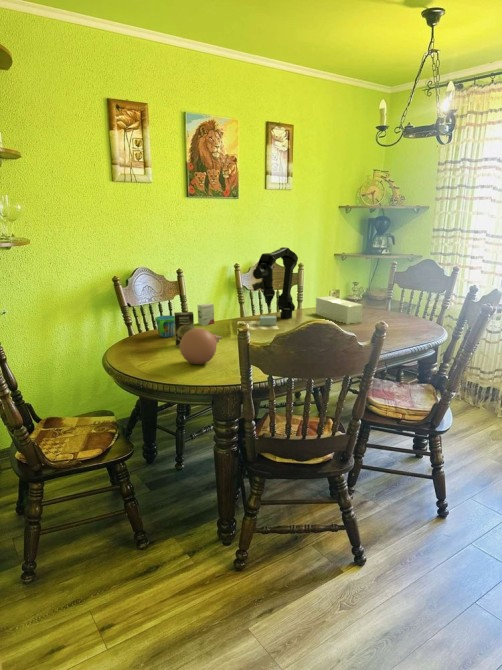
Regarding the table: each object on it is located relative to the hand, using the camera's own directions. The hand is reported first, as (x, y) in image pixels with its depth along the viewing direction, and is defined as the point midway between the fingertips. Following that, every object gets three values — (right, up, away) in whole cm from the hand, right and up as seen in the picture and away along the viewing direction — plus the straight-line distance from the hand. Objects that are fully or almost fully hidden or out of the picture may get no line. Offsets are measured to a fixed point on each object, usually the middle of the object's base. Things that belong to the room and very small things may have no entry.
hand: (267, 304), depth 249 cm
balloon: (-30, -29, -55) cm, 69 cm away
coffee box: (-41, -22, -30) cm, 56 cm away
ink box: (-35, -11, +12) cm, 39 cm away
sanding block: (0, -11, +3) cm, 11 cm away
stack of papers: (+44, -7, +26) cm, 51 cm away
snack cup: (-54, -18, -13) cm, 58 cm away
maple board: (-6, -13, +3) cm, 14 cm away
